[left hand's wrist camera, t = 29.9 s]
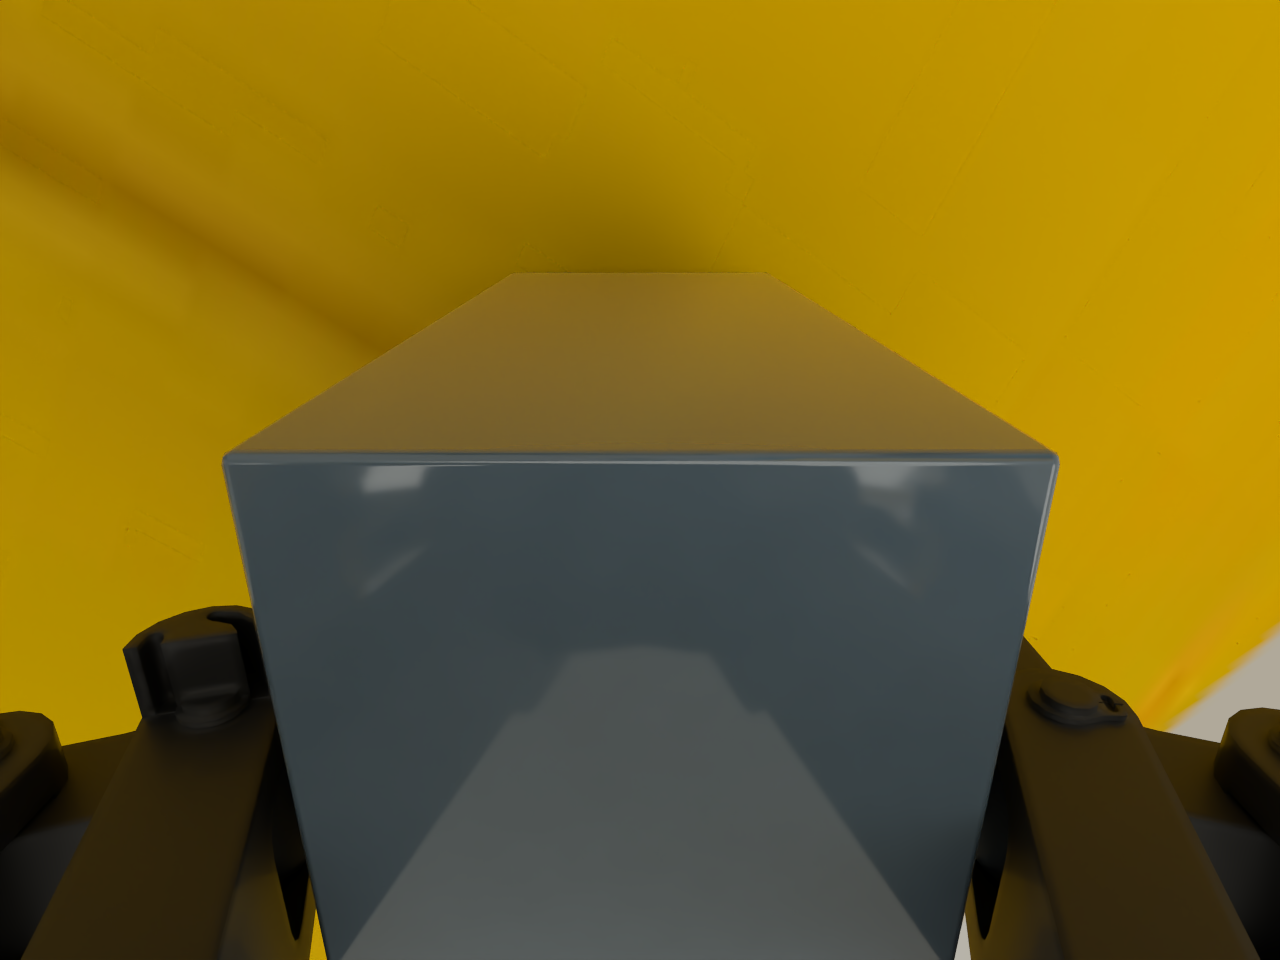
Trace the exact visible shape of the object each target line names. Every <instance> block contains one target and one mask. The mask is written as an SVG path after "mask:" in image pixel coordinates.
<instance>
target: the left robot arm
mask: <svg viewBox="0 0 1280 960" xmlns="http://www.w3.org/2000/svg"><path fill="white" fill-rule="evenodd" d="M123 653H124V656H125V660H126V663H127V667H128V670H129V673H130V677H131V680H132V684H133V687H134V691H135V694H136V697H137V701H138V704H139V708H140V711H141V715H142V719H141V721H140V723H139V725H138V727H137V729H136V731H133V732H129V733H125V734H120V735H115V736H110V737H105V738H100V739H95V740H90V741H85V742H80V743H75V744H70V745H65V746H61V744H60V741H59V738H58V735H57V732H56V729H55V726H54V723H53V721H51V720H50V719H48V718H47V717H46V716H44V715H43V714H41V713H34V712H25V711H15V712H8V713H0V960H309V957H310V949H311V941H312V934H313V926H314V918H315V910H316V905H315V900H314V896H313V891H312V886H311V882H310V877H309V872H308V868H307V863H306V858H305V854H304V849H303V844H302V839H301V835H300V830H299V825H298V821H297V816H296V811H295V807H294V802H293V797H292V793H291V788H290V783H289V778H288V774H287V769H286V764H285V760H284V755H283V750H282V746H281V741H280V736H279V732H278V727H277V722H276V718H275V713H274V708H273V703H272V699H271V694H270V689H269V685H268V680H267V675H266V671H265V666H264V661H263V657H262V652H261V647H260V642H259V638H258V633H257V628H256V624H255V619H254V614H253V610H252V608H248V607H243V606H237V605H234V606H212V607H207V608H202V609H198V610H193V611H188V612H184V613H181V614H179V615H176V616H173V617H171V618H168V619H165V620H163V621H160V622H158V623H156V624H154V625H153V626H151V627H149V628H147V629H146V630H144V631H142V632H141V633H139V634H137V635H136V636H135V637H134V638H133V639H132V640H131V641H130V642H129V643H128V644H127V645H126V646H125V647H124V648H123ZM964 913H965V916H966V924H967V932H968V939H969V947H970V955H971V960H1280V710H1277V709H1269V708H1254V709H1245V710H1240V711H1239V712H1237V713H1236V714H1234V715H1233V716H1232V717H1230V718H1229V720H1228V723H1227V725H1226V728H1225V731H1224V734H1223V737H1222V740H1221V743H1217V742H1212V741H1207V740H1202V739H1197V738H1192V737H1187V736H1182V735H1177V734H1172V733H1167V732H1162V731H1157V730H1153V729H1149V728H1145V727H1143V726H1142V724H1141V722H1140V720H1139V718H1138V716H1137V715H1136V714H1135V713H1134V711H1133V710H1132V709H1131V708H1130V706H1129V705H1128V704H1127V703H1126V702H1125V701H1124V700H1123V699H1121V698H1120V697H1119V696H1117V695H1116V694H1114V693H1113V692H1111V691H1110V690H1108V689H1107V688H1105V687H1104V686H1102V685H1099V684H1097V683H1095V682H1092V681H1090V680H1088V679H1086V678H1083V677H1081V676H1078V675H1074V674H1070V673H1066V672H1062V671H1058V670H1054V669H1051V668H1050V666H1049V665H1048V664H1047V663H1046V662H1045V661H1044V659H1043V658H1042V657H1041V656H1040V655H1039V654H1038V653H1037V651H1036V650H1035V649H1034V648H1033V647H1032V646H1031V644H1030V643H1029V642H1028V641H1027V640H1026V639H1025V637H1024V636H1023V639H1022V643H1021V648H1020V653H1019V657H1018V662H1017V667H1016V672H1015V676H1014V681H1013V686H1012V690H1011V695H1010V700H1009V704H1008V709H1007V714H1006V718H1005V723H1004V728H1003V733H1002V737H1001V742H1000V747H999V751H998V756H997V761H996V765H995V770H994V775H993V779H992V784H991V789H990V794H989V798H988V803H987V808H986V812H985V817H984V822H983V826H982V831H981V836H980V840H979V845H978V850H977V854H976V859H975V864H974V869H973V873H972V878H971V883H970V887H969V892H968V897H967V901H966V906H965V911H964ZM963 916H964V915H963ZM962 921H963V920H962ZM961 926H962V925H961Z"/></svg>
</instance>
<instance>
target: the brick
mask: <svg viewBox="0 0 1280 960" xmlns="http://www.w3.org/2000/svg"><path fill="white" fill-rule="evenodd" d="M1059 465H1060V464H1059V457H1058V455H1057V453H1056V452H1055V451H1053V450H1051V449H1050V448H1048V447H1046V446H1045V445H1043V444H1042V443H1040V442H1038V441H1037V440H1035V439H1034V438H1032V437H1030V436H1029V435H1027V434H1026V433H1024V432H1022V431H1021V430H1019V429H1018V428H1016V427H1014V426H1013V425H1011V424H1010V423H1008V422H1006V421H1005V420H1003V419H1001V418H1000V417H998V416H997V415H995V414H993V413H992V412H990V411H989V410H987V409H985V408H984V407H982V406H981V405H979V404H977V403H976V402H974V401H973V400H971V399H969V398H968V397H966V396H965V395H963V394H961V393H960V392H958V391H956V390H955V389H953V388H952V387H950V386H948V385H947V384H945V383H944V382H942V381H940V380H939V379H937V378H936V377H934V376H932V375H931V374H929V373H928V372H926V371H924V370H923V369H921V368H920V367H918V366H916V365H915V364H913V363H911V362H910V361H908V360H907V359H905V358H903V357H902V356H900V355H899V354H897V353H895V352H894V351H892V350H891V349H889V348H887V347H886V346H884V345H883V344H881V343H879V342H878V341H876V340H875V339H873V338H871V337H870V336H868V335H866V334H865V333H863V332H862V331H860V330H858V329H857V328H855V327H854V326H852V325H850V324H849V323H847V322H846V321H844V320H842V319H841V318H839V317H838V316H836V315H834V314H833V313H831V312H830V311H828V310H826V309H825V308H823V307H821V306H820V305H818V304H817V303H815V302H813V301H812V300H810V299H809V298H807V297H805V296H804V295H802V294H801V293H799V292H797V291H796V290H794V289H793V288H791V287H789V286H788V285H786V284H785V283H783V282H781V281H780V280H778V279H776V278H775V277H773V276H772V275H770V274H768V273H512V274H510V275H509V276H507V277H505V278H504V279H502V280H501V281H499V282H497V283H496V284H494V285H493V286H491V287H489V288H488V289H486V290H485V291H483V292H481V293H480V294H478V295H477V296H475V297H473V298H472V299H470V300H469V301H467V302H465V303H464V304H462V305H461V306H459V307H457V308H456V309H454V310H453V311H451V312H449V313H448V314H446V315H445V316H443V317H441V318H440V319H438V320H437V321H435V322H433V323H432V324H430V325H429V326H427V327H425V328H424V329H422V330H421V331H419V332H417V333H416V334H414V335H413V336H411V337H409V338H408V339H406V340H405V341H403V342H401V343H400V344H398V345H397V346H395V347H393V348H392V349H390V350H389V351H387V352H385V353H384V354H382V355H381V356H379V357H377V358H376V359H374V360H373V361H371V362H369V363H368V364H366V365H365V366H363V367H362V368H360V369H358V370H357V371H355V372H354V373H352V374H350V375H349V376H347V377H346V378H344V379H342V380H341V381H339V382H338V383H336V384H334V385H333V386H331V387H330V388H328V389H326V390H325V391H323V392H322V393H320V394H318V395H317V396H315V397H314V398H312V399H310V400H309V401H307V402H306V403H304V404H302V405H301V406H299V407H298V408H296V409H294V410H293V411H291V412H290V413H288V414H286V415H285V416H283V417H282V418H280V419H278V420H277V421H275V422H274V423H272V424H270V425H269V426H267V427H266V428H264V429H262V430H261V431H259V432H258V433H256V434H254V435H253V436H251V437H250V438H248V439H246V440H245V441H243V442H242V443H240V444H238V445H237V446H235V447H234V448H232V449H230V450H229V451H227V452H226V453H224V456H223V459H222V469H223V474H224V478H225V483H226V488H227V492H228V497H229V502H230V506H231V511H232V516H233V521H234V525H235V530H236V535H237V539H238V544H239V549H240V553H241V558H242V563H243V567H244V572H245V577H246V582H247V586H248V591H249V596H250V600H251V605H252V610H253V614H254V619H255V624H256V628H257V633H258V638H259V642H260V647H261V652H262V657H263V661H264V666H265V671H266V675H267V680H268V685H269V689H270V694H271V699H272V703H273V708H274V713H275V718H276V722H277V727H278V732H279V736H280V741H281V746H282V750H283V755H284V760H285V764H286V769H287V774H288V778H289V783H290V788H291V793H292V797H293V802H294V807H295V811H296V816H297V821H298V825H299V830H300V835H301V839H302V844H303V849H304V854H305V858H306V863H307V868H308V872H309V877H310V882H311V886H312V891H313V896H314V900H315V905H316V910H317V914H318V919H319V924H320V929H321V933H322V938H323V943H324V947H325V952H326V957H327V960H954V958H955V953H956V948H957V944H958V939H959V934H960V930H961V925H962V920H963V915H964V911H965V906H966V901H967V897H968V892H969V887H970V883H971V878H972V873H973V869H974V864H975V859H976V854H977V850H978V845H979V840H980V836H981V831H982V826H983V822H984V817H985V812H986V808H987V803H988V798H989V794H990V789H991V784H992V779H993V775H994V770H995V765H996V761H997V756H998V751H999V747H1000V742H1001V737H1002V733H1003V728H1004V723H1005V718H1006V714H1007V709H1008V704H1009V700H1010V695H1011V690H1012V686H1013V681H1014V676H1015V672H1016V667H1017V662H1018V657H1019V653H1020V648H1021V643H1022V639H1023V634H1024V629H1025V625H1026V620H1027V615H1028V611H1029V606H1030V601H1031V596H1032V592H1033V587H1034V582H1035V578H1036V573H1037V568H1038V564H1039V559H1040V554H1041V550H1042V545H1043V540H1044V536H1045V531H1046V526H1047V521H1048V517H1049V512H1050V507H1051V503H1052V498H1053V493H1054V489H1055V484H1056V479H1057V475H1058V470H1059Z"/></svg>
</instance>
